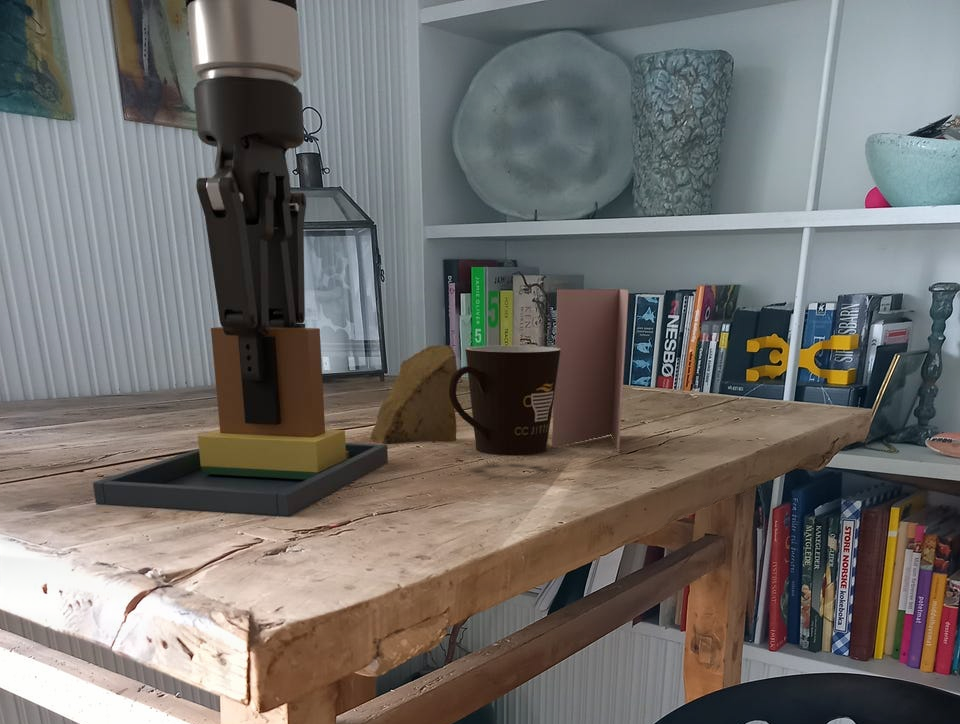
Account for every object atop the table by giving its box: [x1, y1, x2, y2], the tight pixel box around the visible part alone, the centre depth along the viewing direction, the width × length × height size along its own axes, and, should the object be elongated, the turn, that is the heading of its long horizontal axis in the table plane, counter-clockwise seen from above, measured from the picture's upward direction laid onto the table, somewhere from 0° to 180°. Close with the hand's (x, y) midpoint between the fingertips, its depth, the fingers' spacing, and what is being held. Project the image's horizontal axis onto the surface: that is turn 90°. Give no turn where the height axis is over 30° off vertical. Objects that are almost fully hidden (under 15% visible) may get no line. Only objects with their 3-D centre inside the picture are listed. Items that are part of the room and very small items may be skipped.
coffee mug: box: [449, 345, 561, 457], centre depth 86 cm, size 12×9×10 cm
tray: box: [92, 442, 389, 518], centre depth 73 cm, size 15×21×2 cm
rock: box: [369, 344, 458, 445], centre depth 94 cm, size 11×9×10 cm
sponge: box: [197, 326, 346, 480], centre depth 74 cm, size 10×6×11 cm, turn 77°
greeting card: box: [551, 288, 630, 454], centre depth 94 cm, size 11×7×15 cm, turn 141°
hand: (272, 420), depth 74 cm, fingers closed on sponge, 2 cm apart
